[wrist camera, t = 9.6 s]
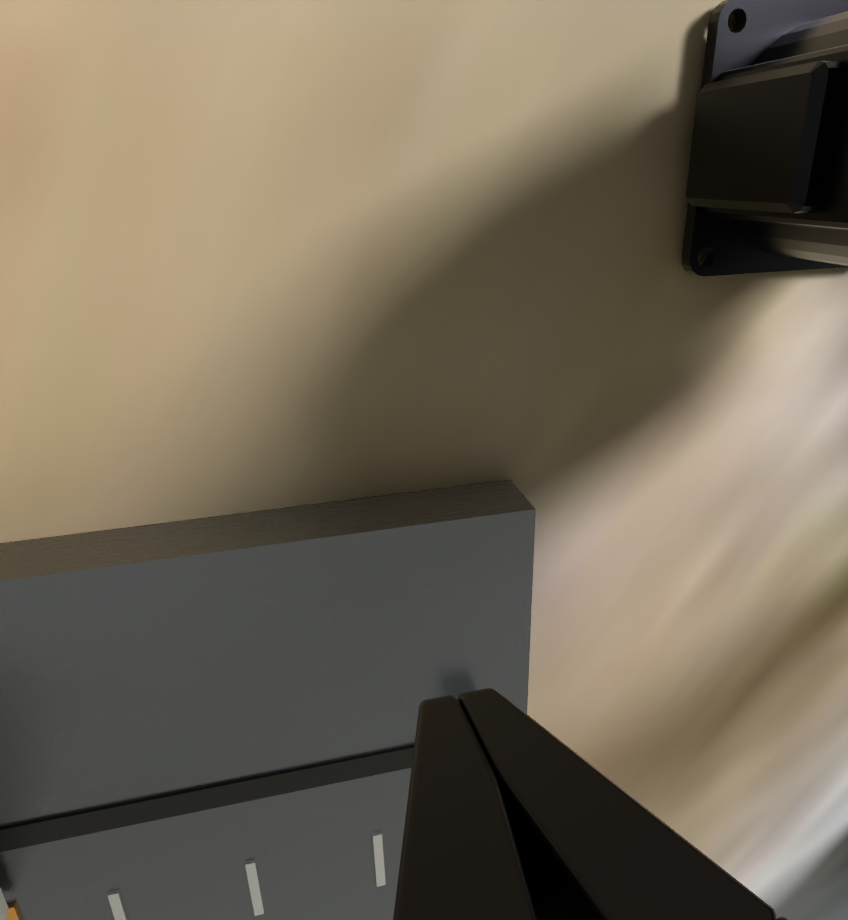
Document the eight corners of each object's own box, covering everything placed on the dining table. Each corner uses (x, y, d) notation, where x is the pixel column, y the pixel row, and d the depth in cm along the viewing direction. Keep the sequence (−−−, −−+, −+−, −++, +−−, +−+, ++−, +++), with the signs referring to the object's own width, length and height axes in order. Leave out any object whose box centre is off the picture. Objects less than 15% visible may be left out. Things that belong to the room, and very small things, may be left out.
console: (510, 479, 21) (558, 537, 17) (501, 850, 27) (535, 943, 24) (-370, 589, 16) (-525, 692, 13) (-136, 1001, 22) (-201, 1140, 19)
